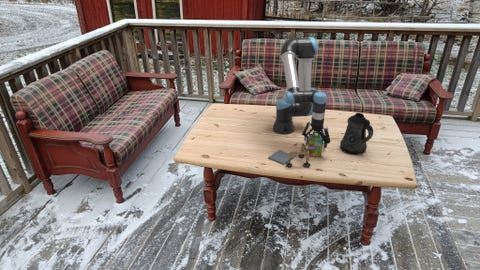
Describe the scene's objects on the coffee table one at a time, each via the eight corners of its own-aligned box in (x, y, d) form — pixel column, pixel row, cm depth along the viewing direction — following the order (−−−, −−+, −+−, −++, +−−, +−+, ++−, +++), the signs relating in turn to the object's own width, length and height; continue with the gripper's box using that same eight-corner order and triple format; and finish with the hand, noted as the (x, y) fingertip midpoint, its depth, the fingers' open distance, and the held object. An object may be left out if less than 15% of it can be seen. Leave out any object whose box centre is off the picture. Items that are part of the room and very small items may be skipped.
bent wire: (284, 166, 202) (285, 152, 197) (300, 154, 214) (301, 140, 209) (301, 173, 195) (302, 159, 190) (317, 160, 207) (318, 146, 202)
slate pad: (268, 158, 210) (268, 157, 210) (279, 150, 218) (279, 149, 218) (284, 165, 203) (284, 163, 203) (294, 157, 211) (294, 155, 211)
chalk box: (306, 155, 212) (308, 135, 205) (307, 148, 220) (309, 128, 213) (321, 157, 210) (323, 136, 203) (321, 150, 218) (324, 130, 211)
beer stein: (343, 140, 229) (348, 106, 218) (373, 147, 220) (380, 112, 209) (336, 151, 217) (341, 116, 205) (367, 159, 208) (374, 122, 196)
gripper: (297, 114, 208) (295, 145, 218) (333, 125, 194) (329, 157, 204) (304, 110, 213) (301, 140, 223) (339, 120, 199) (334, 152, 209)
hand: (314, 148), depth 214 cm, fingers closed on chalk box, 12 cm apart
